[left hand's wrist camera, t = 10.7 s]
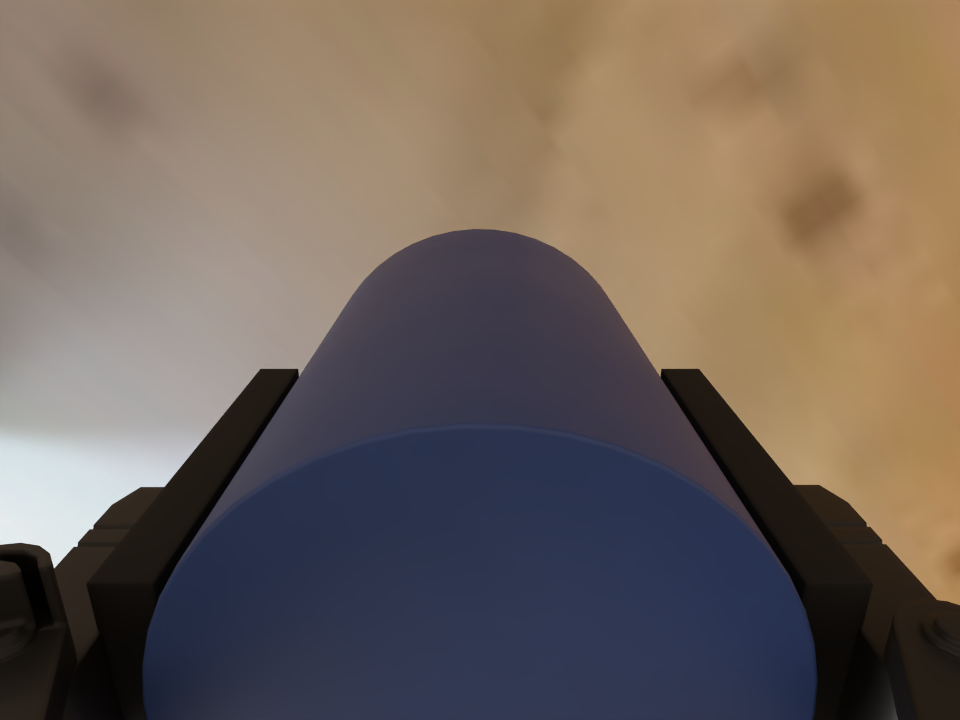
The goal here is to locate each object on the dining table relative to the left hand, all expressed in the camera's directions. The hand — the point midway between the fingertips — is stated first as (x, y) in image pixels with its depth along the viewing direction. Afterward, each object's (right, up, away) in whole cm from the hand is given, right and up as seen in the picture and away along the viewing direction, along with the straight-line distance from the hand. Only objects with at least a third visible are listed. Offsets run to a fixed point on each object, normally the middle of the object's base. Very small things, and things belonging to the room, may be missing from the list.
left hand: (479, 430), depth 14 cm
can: (0, +1, +3) cm, 3 cm away
